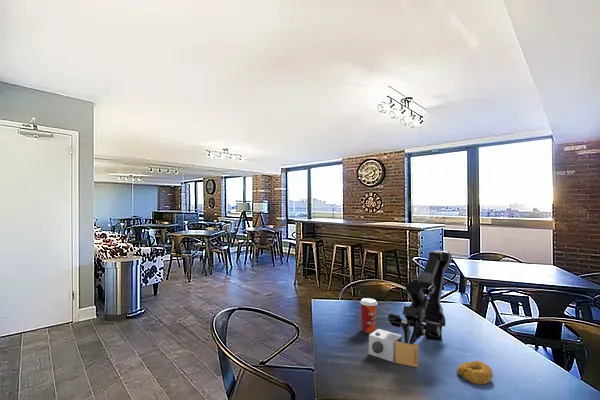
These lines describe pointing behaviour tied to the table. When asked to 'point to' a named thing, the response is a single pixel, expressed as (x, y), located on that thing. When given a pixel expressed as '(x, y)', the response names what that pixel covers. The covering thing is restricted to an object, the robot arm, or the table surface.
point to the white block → (383, 344)
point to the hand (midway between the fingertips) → (407, 346)
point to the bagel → (476, 372)
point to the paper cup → (368, 314)
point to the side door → (406, 354)
